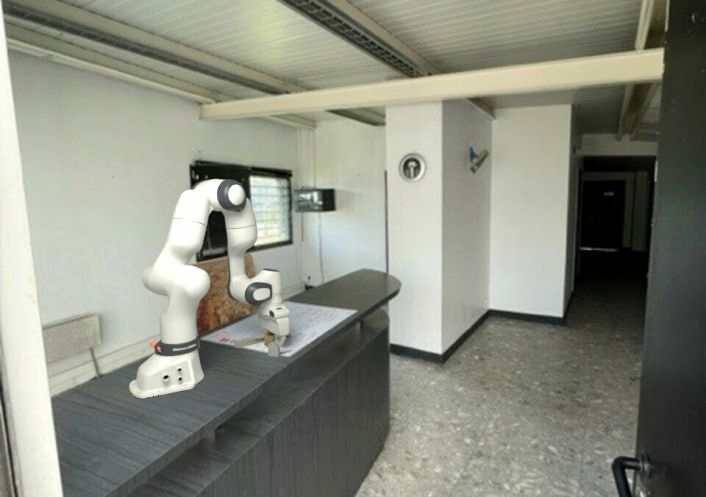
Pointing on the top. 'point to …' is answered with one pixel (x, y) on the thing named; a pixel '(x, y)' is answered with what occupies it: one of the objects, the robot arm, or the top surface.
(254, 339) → the ratchet
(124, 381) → the top surface
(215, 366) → the top surface
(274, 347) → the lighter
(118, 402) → the top surface
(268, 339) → the socket
